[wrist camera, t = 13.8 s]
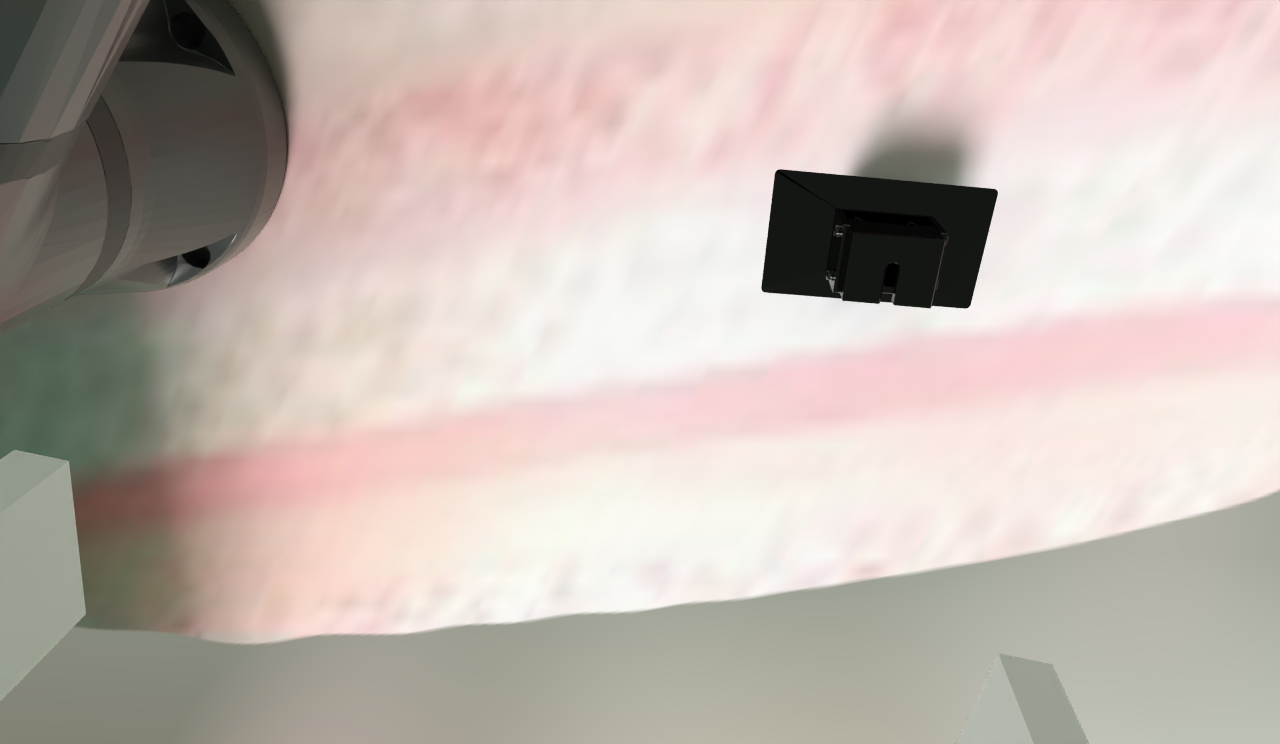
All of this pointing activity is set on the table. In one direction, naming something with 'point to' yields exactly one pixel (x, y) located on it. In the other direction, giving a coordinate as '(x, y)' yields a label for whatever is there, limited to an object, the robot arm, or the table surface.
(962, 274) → the black plastic holder
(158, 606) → the table surface
